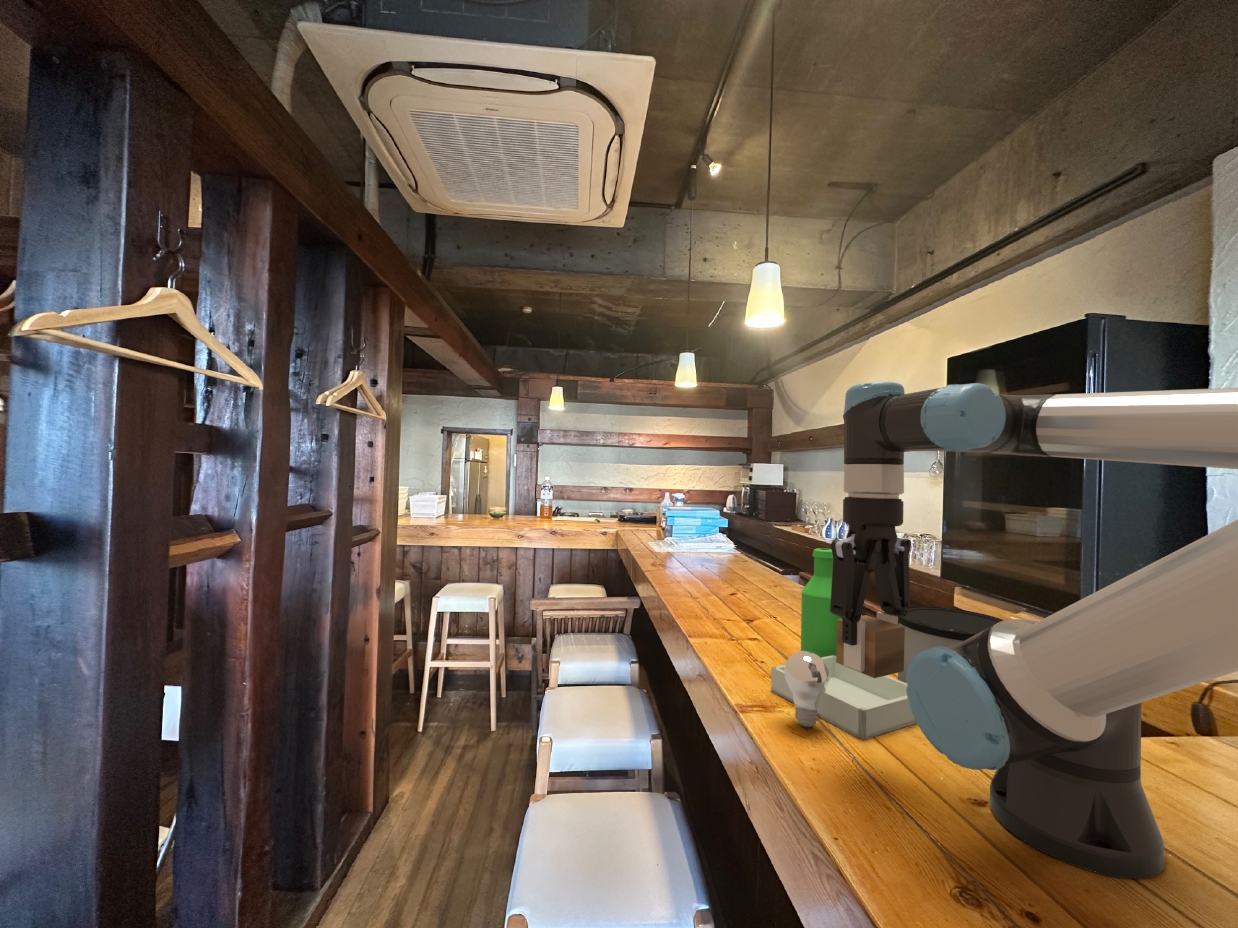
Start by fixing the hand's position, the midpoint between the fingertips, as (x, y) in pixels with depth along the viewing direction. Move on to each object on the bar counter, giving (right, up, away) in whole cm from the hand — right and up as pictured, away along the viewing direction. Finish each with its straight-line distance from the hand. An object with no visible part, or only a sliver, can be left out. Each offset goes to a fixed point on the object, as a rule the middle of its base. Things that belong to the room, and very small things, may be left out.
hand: (870, 663), depth 71 cm
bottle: (+9, -16, +39) cm, 43 cm away
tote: (+6, -15, +21) cm, 26 cm away
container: (+27, -16, +24) cm, 39 cm away
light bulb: (-4, -15, +12) cm, 20 cm away
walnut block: (0, 0, 0) cm, 1 cm away
